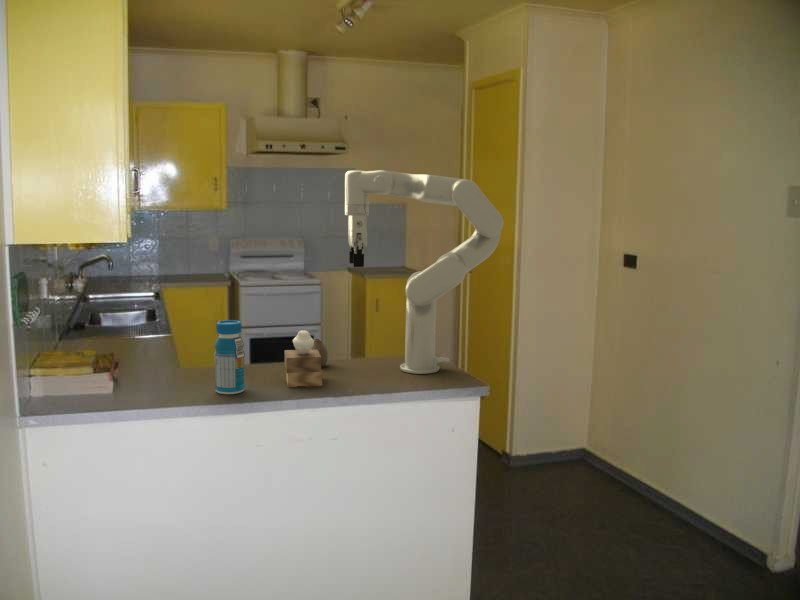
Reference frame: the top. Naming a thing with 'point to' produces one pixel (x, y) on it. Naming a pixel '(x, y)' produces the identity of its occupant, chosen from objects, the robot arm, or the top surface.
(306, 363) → the tower top
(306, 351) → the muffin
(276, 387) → the top surface
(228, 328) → the beverage bottle
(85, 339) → the top surface
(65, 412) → the top surface
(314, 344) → the vase
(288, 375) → the tower base
